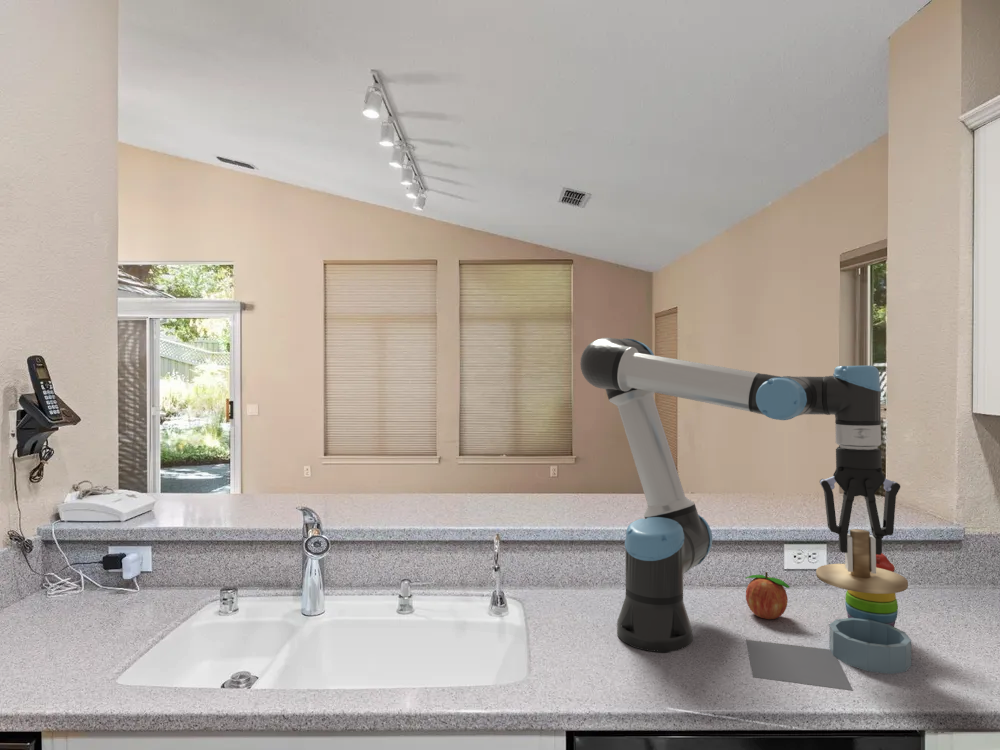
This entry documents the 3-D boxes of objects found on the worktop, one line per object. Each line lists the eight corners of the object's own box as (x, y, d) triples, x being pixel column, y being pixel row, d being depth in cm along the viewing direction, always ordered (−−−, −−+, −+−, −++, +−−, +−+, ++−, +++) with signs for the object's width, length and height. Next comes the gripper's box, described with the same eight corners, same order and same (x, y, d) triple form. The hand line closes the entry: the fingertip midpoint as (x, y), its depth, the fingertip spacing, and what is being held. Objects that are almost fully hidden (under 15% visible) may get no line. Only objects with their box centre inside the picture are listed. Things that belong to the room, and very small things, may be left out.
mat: (753, 678, 112) (753, 676, 112) (745, 640, 127) (745, 639, 127) (853, 692, 107) (853, 690, 107) (833, 651, 123) (833, 649, 123)
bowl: (838, 668, 116) (838, 641, 115) (824, 639, 128) (824, 614, 128) (920, 679, 112) (920, 651, 112) (897, 647, 124) (897, 622, 124)
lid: (823, 589, 114) (822, 538, 114) (810, 565, 128) (810, 520, 128) (919, 597, 109) (918, 544, 109) (895, 571, 123) (894, 524, 123)
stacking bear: (911, 649, 123) (912, 559, 123) (855, 645, 125) (856, 556, 125) (889, 627, 134) (889, 544, 134) (837, 623, 136) (838, 541, 136)
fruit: (777, 628, 133) (777, 582, 133) (735, 614, 141) (735, 570, 141) (796, 618, 139) (796, 573, 139) (755, 605, 146) (755, 563, 146)
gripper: (813, 448, 118) (816, 572, 118) (913, 449, 112) (916, 580, 112) (808, 443, 125) (810, 561, 125) (901, 445, 119) (904, 567, 119)
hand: (860, 570), depth 119 cm, fingers closed on lid, 3 cm apart
